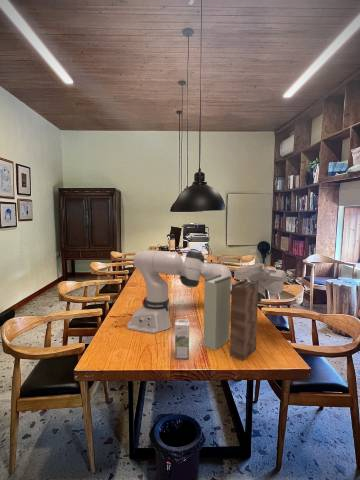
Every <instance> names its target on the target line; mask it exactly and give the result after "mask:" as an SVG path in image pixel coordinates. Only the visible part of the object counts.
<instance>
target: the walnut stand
mask: <svg viewBox="0 0 360 480" xmlns="http://www.w3.org/2000/svg"><path fill="white" fill-rule="evenodd" d="M247 280H248V279H246V278H245V279H242V280H239V281H237V282H234V283H232V291H231V294H230V328H229V357H231V358H234V359H237V360H240V361H245V360H246V359H247V358H248V357H249V356H250V355H252V354H253V352H255V351H256V350H257V333H258V330H257V329H258V309H259V308H258V307H259V306H258V305H259V303H258V283H259V281H255V282H248V281H247Z"/></svg>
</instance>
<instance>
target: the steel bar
mask: <svg viewBox="0 0 360 480" xmlns="http://www.w3.org/2000/svg"><path fill="white" fill-rule="evenodd" d="M261 266H264V267H265V263H262V262H261V263H260V262H257V263H254V264H251V265H248V267H245V268H242V269H241V268H239V269H236V270H234V271H233V273H234V276H233V279H234V280H239V281H241V280H244V279H246V278H247V277H250V276H252V275H254V274H257V273H259V272H262V271H261V270H260V268H261Z"/></svg>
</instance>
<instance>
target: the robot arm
mask: <svg viewBox="0 0 360 480" xmlns="http://www.w3.org/2000/svg"><path fill="white" fill-rule="evenodd" d="M204 256H205V255H204V254H203V253H201V252H200V251H199V250H188V251H187V252H186V254H185V259H184V261H183V259H182V257H181V255H180V253H177V252H173V251H167V250H154V249H151V250H150V249H144V250H138V251H137V252H136V253H135V254H134V256H133V266H134V268H135V269H136V270H137V271H138V272H139V273H140V274H141V276H142V278H143V280H144V283H145V290H146V293H145V294H146V296H145V297H144V298H143V300H142V303H141V306H140V307H138V308H137V309H136V310H134V313H133V314H132V317H131V319H130V320H129V321H128V322H127V325H126V327H127V329H128V330H132V331H138V332H142V333H148V334H156V333H159V332H163V331H166V330H169V329H170V328H171V327H172V321H171V318H170V298H169V284H168V281H166V280H165V279H164V278H162V276H161V275H160V274H164V275H169V276H170V275H171V276H173V275H174V276H176V275H178V276H179V277H178V279H179V280H180V282H181V284H183V286H185V287H187V288H191V289H192V288H196V287H198V286H199V283H200V279H201V277H202V279H204V280H205V279H206V278H209V277H212V276H216V275H219V274H221V277H227V276H231V291H232V284H233V282H232V280H233V279H232V278H233V277H232V272H231V270H230V268H229V267H228V266H227V265H225V264H222V263H220V264H214V263H211V264H210V263H206V262H205V261H207V259H206V258H205V257H204ZM248 266H249V265H248V264H247V265H246V264H242V265H241V267H240V269H242V268H245V267H248ZM260 270H261V271H262V272H259V273H257V274H254V275H252V276H250V277H247V278H245V279H248V280H247V281H248V282H255V281H259V283H258V304H260V302H262V299H263V298H262V297H263V292H264V289H265V290H266V291H268V292H269V293H270V294H273V295H279V294H281V293H282V292H283V290H284V288H285V285H284V283H285V282H288V281H290V279H289V277H287V274H286V273H287V272H286V271H284V270H281V269H277V268H276V269H275V268H270V267H265V265H264V266H261V268H260ZM231 291H230V295H231Z"/></svg>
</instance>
